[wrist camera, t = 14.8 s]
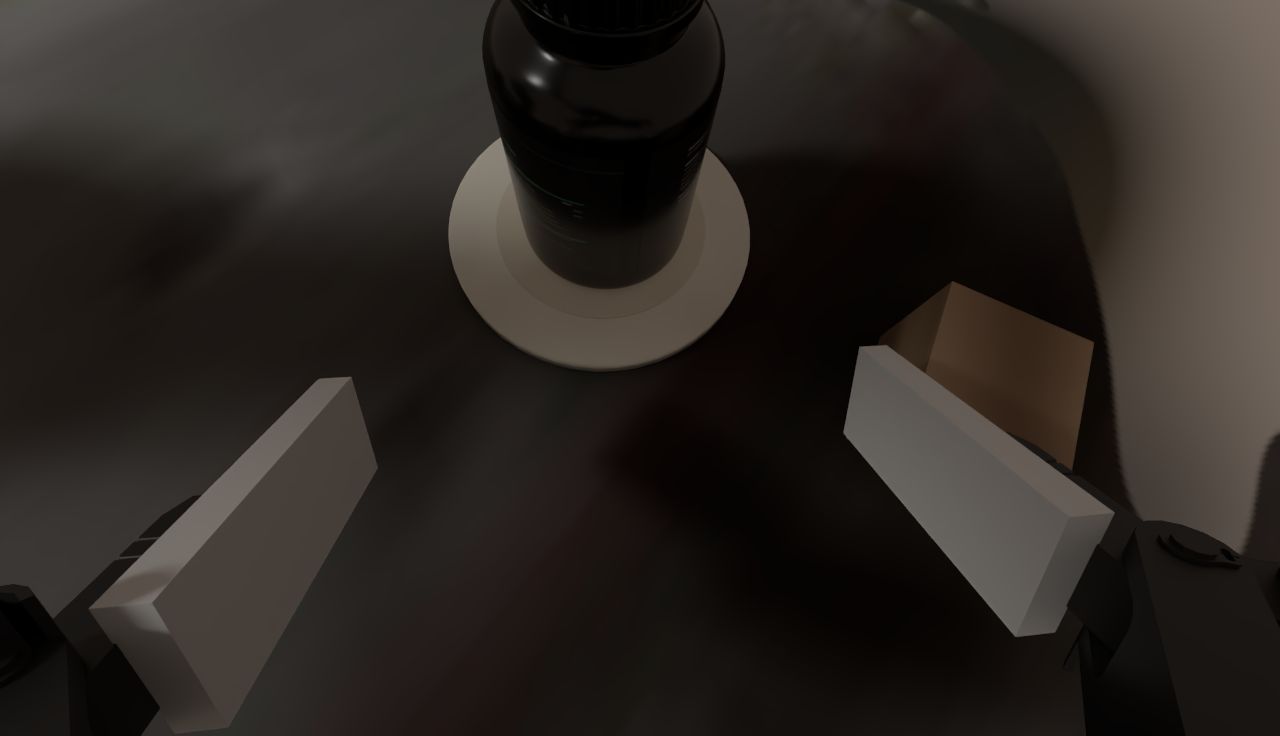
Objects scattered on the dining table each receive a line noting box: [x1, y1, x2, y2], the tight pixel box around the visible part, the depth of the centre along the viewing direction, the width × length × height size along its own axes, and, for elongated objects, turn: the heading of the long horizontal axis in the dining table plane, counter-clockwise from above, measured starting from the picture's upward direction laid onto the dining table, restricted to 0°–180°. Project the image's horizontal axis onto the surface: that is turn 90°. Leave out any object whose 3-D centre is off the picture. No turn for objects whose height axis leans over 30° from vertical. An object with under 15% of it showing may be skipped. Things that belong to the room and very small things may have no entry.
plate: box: [448, 138, 750, 372], centre depth 23 cm, size 13×13×1 cm
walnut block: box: [846, 281, 1094, 470], centre depth 19 cm, size 5×5×5 cm
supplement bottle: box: [482, 0, 725, 289], centre depth 17 cm, size 7×7×12 cm
